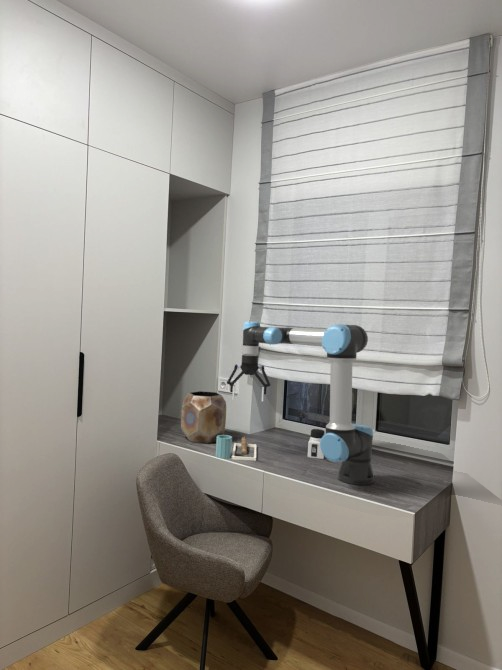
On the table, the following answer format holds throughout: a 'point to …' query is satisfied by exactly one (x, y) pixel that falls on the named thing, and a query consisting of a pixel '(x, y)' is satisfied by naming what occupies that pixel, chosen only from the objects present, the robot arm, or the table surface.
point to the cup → (223, 446)
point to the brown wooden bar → (244, 445)
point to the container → (315, 444)
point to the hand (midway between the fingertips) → (247, 400)
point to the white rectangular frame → (244, 457)
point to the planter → (203, 416)
